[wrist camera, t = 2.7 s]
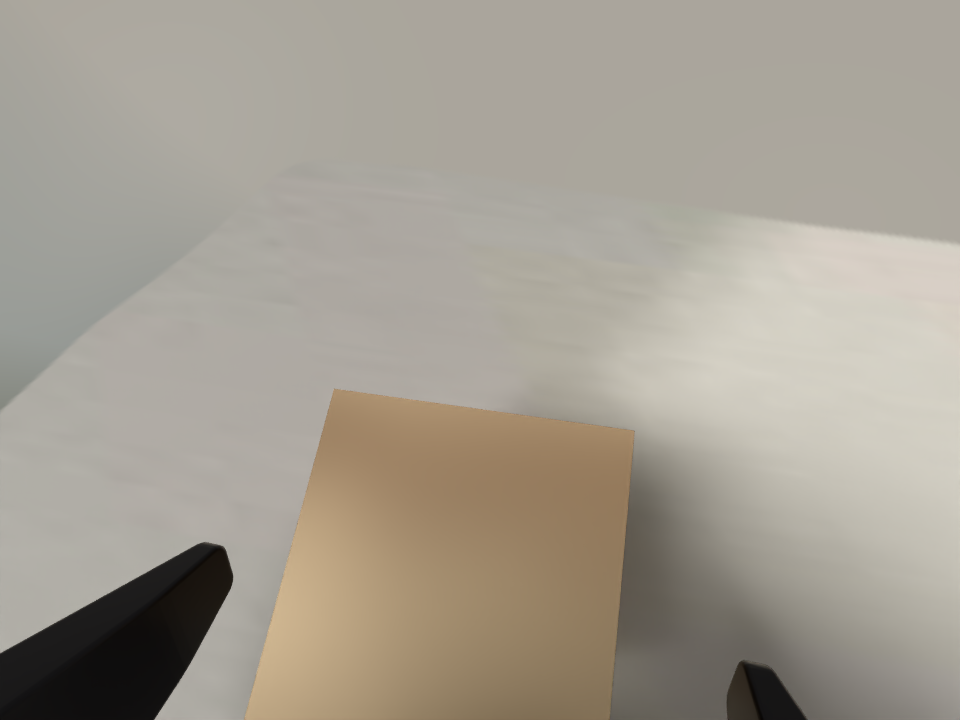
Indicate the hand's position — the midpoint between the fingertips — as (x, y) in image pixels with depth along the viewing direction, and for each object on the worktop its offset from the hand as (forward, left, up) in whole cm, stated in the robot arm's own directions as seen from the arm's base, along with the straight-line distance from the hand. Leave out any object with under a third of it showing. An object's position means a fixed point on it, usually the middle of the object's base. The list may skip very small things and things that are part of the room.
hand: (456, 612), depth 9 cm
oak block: (+1, 0, -8) cm, 9 cm away
